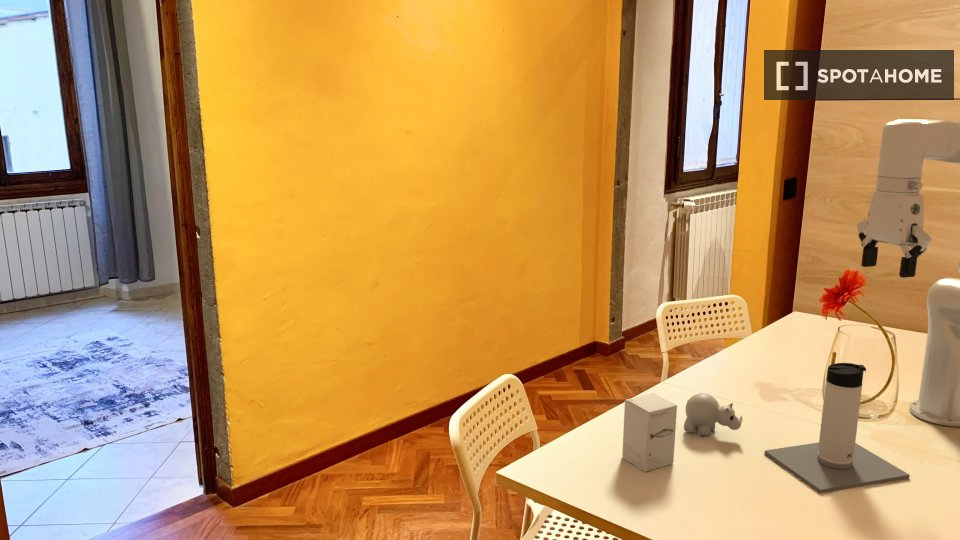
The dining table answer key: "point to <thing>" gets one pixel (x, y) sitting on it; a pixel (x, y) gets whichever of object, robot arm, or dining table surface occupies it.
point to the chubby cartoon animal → (708, 415)
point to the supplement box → (649, 431)
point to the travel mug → (840, 415)
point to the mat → (830, 479)
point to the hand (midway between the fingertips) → (887, 271)
